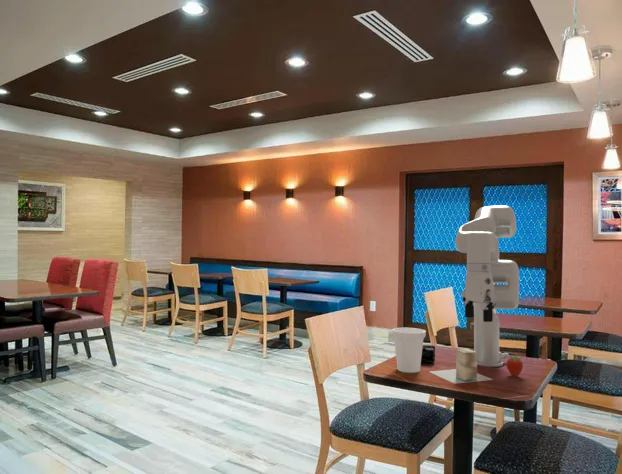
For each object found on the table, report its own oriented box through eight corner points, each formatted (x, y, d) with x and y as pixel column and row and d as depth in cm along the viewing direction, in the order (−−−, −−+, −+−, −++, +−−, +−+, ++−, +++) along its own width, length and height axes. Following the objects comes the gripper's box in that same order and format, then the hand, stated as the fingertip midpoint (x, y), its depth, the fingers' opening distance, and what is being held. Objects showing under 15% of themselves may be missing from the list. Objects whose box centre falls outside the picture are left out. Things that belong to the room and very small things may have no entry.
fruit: (512, 379, 171) (512, 356, 171) (503, 375, 176) (503, 353, 176) (525, 378, 172) (526, 355, 172) (516, 374, 177) (516, 352, 177)
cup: (388, 373, 177) (388, 331, 177) (395, 365, 189) (395, 326, 189) (423, 377, 172) (423, 334, 173) (427, 368, 184) (428, 328, 184)
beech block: (467, 376, 172) (468, 348, 172) (477, 380, 167) (477, 351, 167) (455, 378, 170) (456, 349, 170) (464, 382, 165) (464, 352, 165)
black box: (434, 361, 196) (434, 344, 196) (435, 365, 189) (435, 348, 189) (409, 359, 198) (409, 343, 198) (409, 364, 191) (409, 347, 191)
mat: (464, 369, 184) (464, 368, 184) (493, 380, 169) (493, 379, 169) (428, 372, 179) (428, 371, 179) (454, 384, 163) (454, 383, 163)
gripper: (505, 269, 155) (505, 323, 155) (472, 267, 172) (471, 315, 171) (486, 269, 153) (485, 324, 153) (453, 267, 169) (453, 316, 169)
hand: (478, 319), depth 162 cm, fingers open, 9 cm apart
